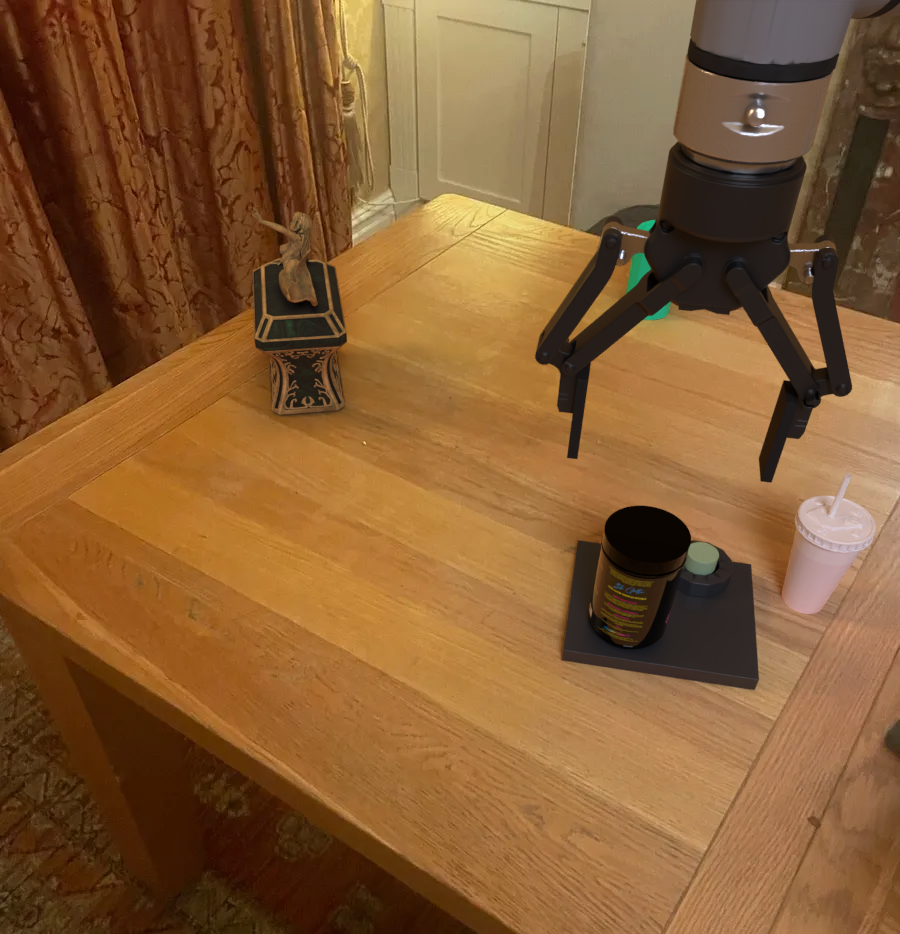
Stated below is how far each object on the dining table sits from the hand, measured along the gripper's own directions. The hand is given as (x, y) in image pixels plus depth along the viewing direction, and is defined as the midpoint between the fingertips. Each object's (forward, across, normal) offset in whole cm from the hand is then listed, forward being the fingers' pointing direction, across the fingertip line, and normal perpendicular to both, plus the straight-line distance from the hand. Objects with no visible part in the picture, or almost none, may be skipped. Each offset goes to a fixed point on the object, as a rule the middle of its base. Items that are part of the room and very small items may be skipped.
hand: (668, 459), depth 65 cm
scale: (+19, +3, +3) cm, 19 cm away
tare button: (+16, +6, +7) cm, 19 cm away
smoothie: (+19, +15, +8) cm, 26 cm away
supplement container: (+18, 0, 0) cm, 18 cm away
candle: (+19, 0, +59) cm, 62 cm away
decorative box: (+19, -38, +31) cm, 53 cm away
